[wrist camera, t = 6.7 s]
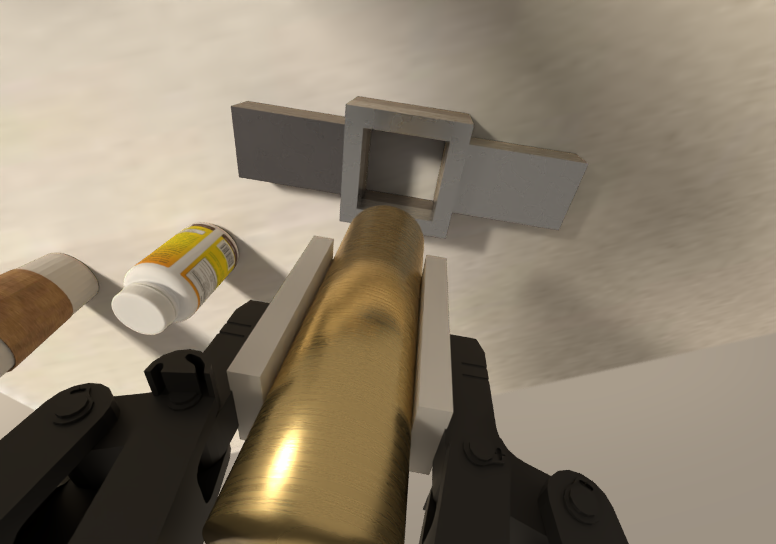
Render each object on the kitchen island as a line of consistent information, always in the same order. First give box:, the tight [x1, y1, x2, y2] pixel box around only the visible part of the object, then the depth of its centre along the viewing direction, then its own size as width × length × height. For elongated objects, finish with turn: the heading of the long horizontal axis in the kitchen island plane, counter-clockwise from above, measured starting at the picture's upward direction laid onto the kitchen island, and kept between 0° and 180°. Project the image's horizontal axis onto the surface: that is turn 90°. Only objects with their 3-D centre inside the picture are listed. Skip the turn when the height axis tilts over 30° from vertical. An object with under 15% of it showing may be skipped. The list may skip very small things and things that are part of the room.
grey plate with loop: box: [231, 96, 588, 239], centre depth 25 cm, size 24×8×4 cm, turn 82°
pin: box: [202, 205, 424, 544], centre depth 11 cm, size 4×4×12 cm
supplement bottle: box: [111, 223, 239, 335], centre depth 29 cm, size 6×6×10 cm
